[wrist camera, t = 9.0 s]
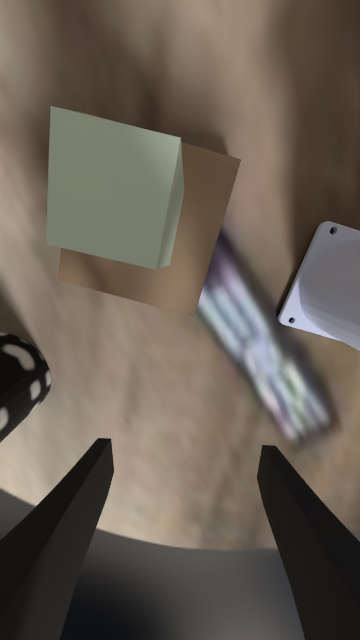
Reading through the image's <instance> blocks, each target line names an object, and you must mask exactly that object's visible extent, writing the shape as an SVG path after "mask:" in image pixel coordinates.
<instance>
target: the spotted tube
mask: <svg viewBox="0 0 360 640" xmlns="http://www.w3.org/2000/svg"><path fill="white" fill-rule="evenodd" d="M50 386H51V375H50V371H49V368H48V366H47V363H46V361H45V360H44V358H43V357H42V355H41V354H40V353H39V352H38V351H37V350H36V349H35V348H34V347H33V346H32V345H30V344H29V343H28V342H26V341H25V340H23V339H21V338H19V337H17V336H14V335H11V334H7V333H2V332H0V442H1V441H2V440H3V439H4V438H5V437H6V436H7V435H8V434H10V433H11V432H12V431H13V430H14V429H15V428H16V427H17V426H18V425H19V424H20V423H21V422H22V421H23V420H24V419H25V418H26V417H27V416H28V415H29V414H30V413H31V412H32V411H33V410H34V409H35V408H36V407H37V406H38V405H39V404H40V403H41V402H42V401H43V400H44V399H45V398H46V396H47V394H48V392H49V390H50Z"/></svg>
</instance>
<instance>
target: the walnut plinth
mask: <svg viewBox="0 0 360 640" xmlns="http://www.w3.org/2000/svg"><path fill="white" fill-rule="evenodd" d="M74 112H78V113H83V114H87V115H91V116H95V117H99V116H96V115H93V114H90V113H86V112H83V111H80V110H76V109H74ZM99 118H103V117H99ZM103 119H106V118H103ZM107 120H109V119H107ZM111 121H113V120H111ZM115 122H116V121H115ZM181 147H182V162H183V177H184V191H185V192H184V197H183V202H182V207H181V212H180V217H179V222H178V227H177V231H176V236H175V241H174V246H173V251H172V256H171V261H170V265H169V266H166V267H163V268H160V269H157V270H155V269H151V268H146V267H142V266H138V265H133V264H129V263H125V262H121V261H116V260H112V259H108V258H103V257H99V256H95V255H90V254H86V253H82V252H78V251H73V250H69V249H65V248H61V255H60V266H59V276H58V280H60V281H64V282H67V283H71V284H75V285H79V286H82V287H86V288H90V289H94V290H97V291H101V292H105V293H109V294H112V295H116V296H120V297H123V298H127V299H131V300H135V301H138V302H142V303H146V304H150V305H153V306H157V307H161V308H165V309H168V310H172V311H176V312H179V313H183V314H187V315H191V316H194V315H195V312H196V308H197V305H198V302H199V298H200V295H201V292H202V288H203V285H204V282H205V278H206V275H207V272H208V268H209V265H210V262H211V258H212V255H213V252H214V248H215V245H216V242H217V238H218V235H219V232H220V228H221V225H222V222H223V218H224V215H225V212H226V208H227V205H228V201H229V198H230V195H231V191H232V188H233V185H234V181H235V178H236V175H237V171H238V168H239V165H240V161H241V160H240V159H237V158H234V157H230V156H227V155H224V154H221V153H217V152H214V151H211V150H208V149H204V148H201V147H198V146H194V145H191V144H188V143H185V142H181Z"/></svg>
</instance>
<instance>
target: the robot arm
mask: <svg viewBox="0 0 360 640" xmlns="http://www.w3.org/2000/svg"><path fill="white" fill-rule="evenodd" d="M331 228H333V229H334V232H333V234H330V229H331ZM291 317H293V320H292V321H291V322H289V319H290V318H291ZM278 321H279V322H280V323H282V324H284V325H288V326H291V327H294V328H298V329H301V330H305V331H308V332H312V333H315V334H319V335H322V336H325V337H329V338H332V339H336V340H339V341H342V342H344V343H346V344H348V345H350V346H352V347H353V348H355V349H357V350H359V351H360V231H359V230H356V229H352V228H349V227H346V226H343V225H340V224H337V223H334V222H330V221H326V222H323V223H321V224H320V225H319V226H318V228H317V230H316V232H315V235H314V237H313V239H312V241H311V244H310V246H309V248H308V250H307V253H306V255H305V257H304V259H303V262H302V264H301V266H300V268H299V271H298V273H297V275H296V278H295V280H294V282H293V284H292V287H291V289H290V291H289V293H288V296H287V298H286V300H285V302H284V305H283V307H282V309H281V311H280V314H279V316H278ZM113 473H114V465H113V454H112V444H111V439H106V438H98V439H97V440H96V441H95V442H94V443H93V445H92V446H91V447H90V448H89V449H88V451H87V452H86V453H85V454H84V455H83V456H82V458H81V459H80V460H79V461H78V462H77V463H76V465H75V466H74V467H73V468H72V469H71V470H70V471H69V472H68V473H67V475H66V476H65V477H64V478H63V479H62V480H61V481H60V482H59V483H58V484H57V485H56V487H55V488H54V489H53V490H52V491H51V492H50V493H49V494H48V495H47V496H46V497H45V498H44V499H43V500H42V501H41V502H40V503H39V504H38V505H37V506H36V507H35V508H34V509H33V510H32V511H31V512H30V513H29V514H28V515H27V516H26V517H25V518H24V519H23V520H22V521H21V522H20V523H19V524H18V525H16V526H15V527H14V528H13V529H12V530H11V531H10V532H9V533H8V534H7V535H6V536H5V537H4V538H2V539H1V540H0V640H59V638H60V634H61V631H62V628H63V624H64V621H65V618H66V614H67V611H68V608H69V604H70V601H71V597H72V594H73V591H74V588H75V584H76V581H77V578H78V575H79V572H80V569H81V566H82V563H83V561H84V558H85V555H86V553H87V550H88V548H89V544H90V542H91V539H92V536H93V534H94V531H95V529H96V526H97V523H98V521H99V518H100V515H101V512H102V510H103V507H104V504H105V501H106V499H107V496H108V492H109V488H110V485H111V481H112V477H113ZM257 480H258V484H259V489H260V493H261V497H262V501H263V505H264V508H265V511H266V514H267V517H268V520H269V523H270V526H271V529H272V532H273V535H274V538H275V541H276V544H277V547H278V550H279V552H280V556H281V559H282V562H283V565H284V568H285V571H286V574H287V577H288V580H289V583H290V586H291V589H292V593H293V596H294V599H295V603H296V607H297V611H298V614H299V618H300V622H301V626H302V629H303V633H304V637H305V640H360V542H359V541H358V540H357V538H356V537H355V536H354V535H353V534H352V533H351V532H350V531H349V530H348V529H347V528H346V527H345V526H344V525H343V524H342V523H341V522H340V521H339V520H338V518H337V517H336V516H335V515H334V514H333V513H332V512H331V511H330V510H329V509H328V508H327V506H326V505H325V504H324V503H323V502H322V501H321V500H320V499H319V497H318V496H317V495H316V494H315V493H314V492H313V490H312V489H311V488H310V487H309V486H308V485H307V483H306V482H305V481H304V480H303V479H302V478H301V476H300V475H299V474H298V473H297V471H296V470H295V469H294V468H293V467H292V465H291V464H290V463H289V462H288V460H287V459H286V458H285V457H284V455H283V454H282V453H281V452H280V450H279V449H278V448H277V447H276V446H269V445H262V450H261V456H260V462H259V468H258V474H257Z"/></svg>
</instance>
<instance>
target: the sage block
mask: <svg viewBox="0 0 360 640" xmlns="http://www.w3.org/2000/svg"><path fill="white" fill-rule="evenodd" d="M184 192H185V191H184V177H183V162H182V147H181V138H179V137H175V136H171V135H167V134H163V133H159V132H155V131H151V130H147V129H143V128H139V127H135V126H131V125H127V124H123V123H119V122H115V121H111V120H107V119H103V118H99V117H95V116H91V115H87V114H83V113H78V112H74V111H70V110H66V109H62V108H58V107H54V106H51V110H50V140H49V169H48V199H47V228H46V244H48V245H52V246H56V247H60V248H65V249H69V250H73V251H78V252H82V253H86V254H90V255H95V256H99V257H103V258H108V259H112V260H116V261H121V262H125V263H129V264H133V265H138V266H142V267H146V268H151V269H155V270H157V269H160V268H163V267H166V266H169V265H170V261H171V256H172V251H173V246H174V241H175V236H176V231H177V227H178V222H179V217H180V212H181V207H182V202H183V197H184Z"/></svg>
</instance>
